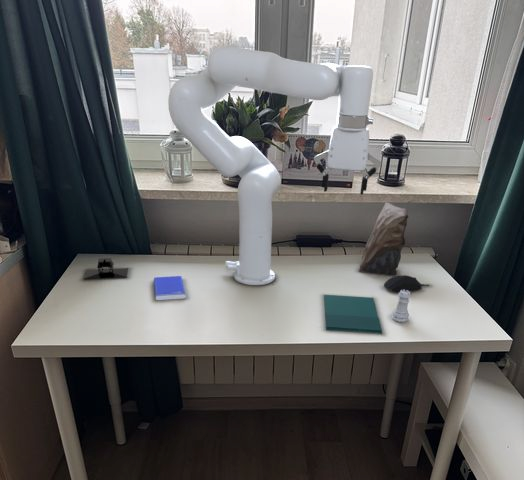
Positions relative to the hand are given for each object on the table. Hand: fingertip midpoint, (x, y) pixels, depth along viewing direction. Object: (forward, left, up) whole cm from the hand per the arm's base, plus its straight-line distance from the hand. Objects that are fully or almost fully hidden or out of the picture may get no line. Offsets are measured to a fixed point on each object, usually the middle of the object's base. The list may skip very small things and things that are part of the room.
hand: (343, 191), depth 135 cm
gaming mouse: (+22, +6, -28) cm, 36 cm away
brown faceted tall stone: (+13, +19, -28) cm, 37 cm away
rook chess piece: (+19, -15, -28) cm, 37 cm away
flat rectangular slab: (+6, -15, -28) cm, 33 cm away
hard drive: (-46, -13, -28) cm, 56 cm away
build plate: (-68, -7, -28) cm, 74 cm away
